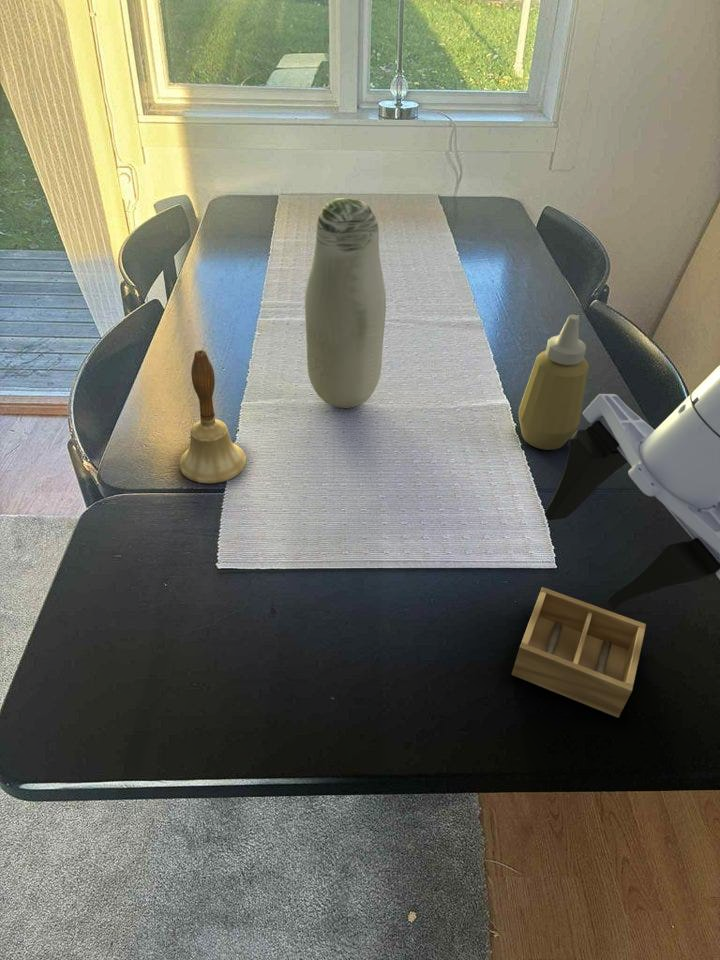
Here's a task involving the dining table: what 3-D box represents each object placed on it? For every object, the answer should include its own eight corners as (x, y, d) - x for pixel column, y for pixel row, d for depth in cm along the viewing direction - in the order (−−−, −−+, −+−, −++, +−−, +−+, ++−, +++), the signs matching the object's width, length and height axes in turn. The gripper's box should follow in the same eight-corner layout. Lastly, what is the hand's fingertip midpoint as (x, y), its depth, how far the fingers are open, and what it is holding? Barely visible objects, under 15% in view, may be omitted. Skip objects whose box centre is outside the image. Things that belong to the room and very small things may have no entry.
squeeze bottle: (569, 422, 97) (603, 303, 86) (577, 459, 91) (614, 336, 79) (511, 417, 98) (536, 298, 86) (515, 453, 92) (542, 331, 80)
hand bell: (220, 434, 93) (207, 327, 83) (259, 464, 89) (250, 354, 78) (166, 461, 89) (145, 351, 78) (205, 493, 84) (187, 381, 74)
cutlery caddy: (618, 718, 63) (632, 691, 60) (511, 674, 66) (519, 647, 63) (633, 651, 69) (646, 623, 66) (533, 614, 72) (542, 586, 69)
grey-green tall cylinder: (294, 395, 100) (287, 196, 82) (350, 372, 105) (355, 180, 87) (336, 428, 95) (338, 223, 76) (393, 403, 100) (408, 204, 81)
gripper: (616, 340, 43) (494, 484, 51) (792, 528, 35) (615, 659, 44) (676, 346, 47) (554, 478, 55) (843, 515, 40) (673, 636, 48)
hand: (585, 557), depth 50 cm, fingers open, 7 cm apart
